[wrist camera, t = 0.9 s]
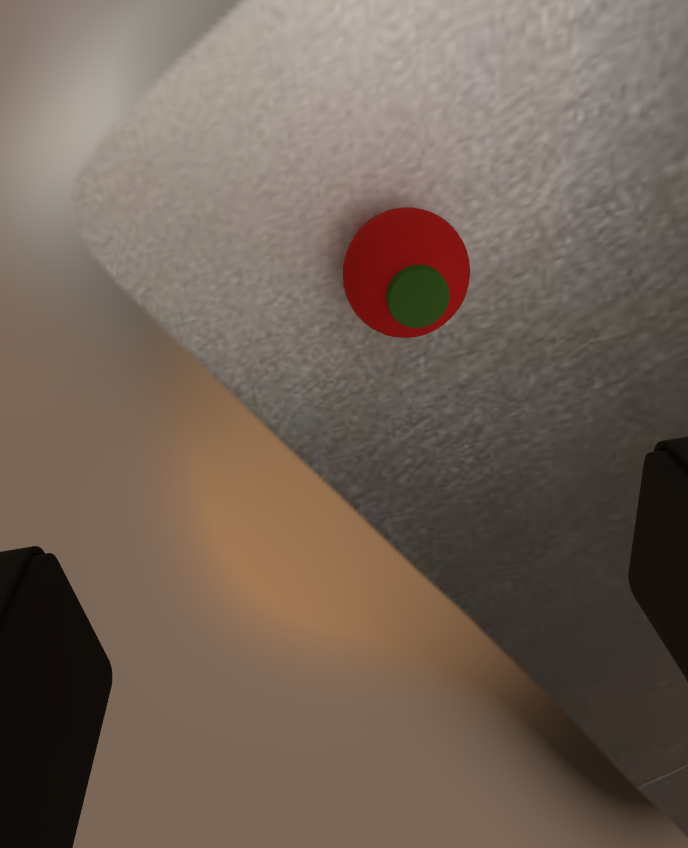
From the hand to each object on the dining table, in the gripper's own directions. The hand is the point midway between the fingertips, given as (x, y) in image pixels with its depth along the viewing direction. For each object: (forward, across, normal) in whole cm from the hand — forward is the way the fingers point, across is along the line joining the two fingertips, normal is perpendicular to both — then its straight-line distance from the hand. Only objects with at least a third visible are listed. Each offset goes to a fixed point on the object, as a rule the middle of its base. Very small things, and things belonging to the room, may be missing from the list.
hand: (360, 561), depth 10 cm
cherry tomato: (+14, -3, 0) cm, 14 cm away
